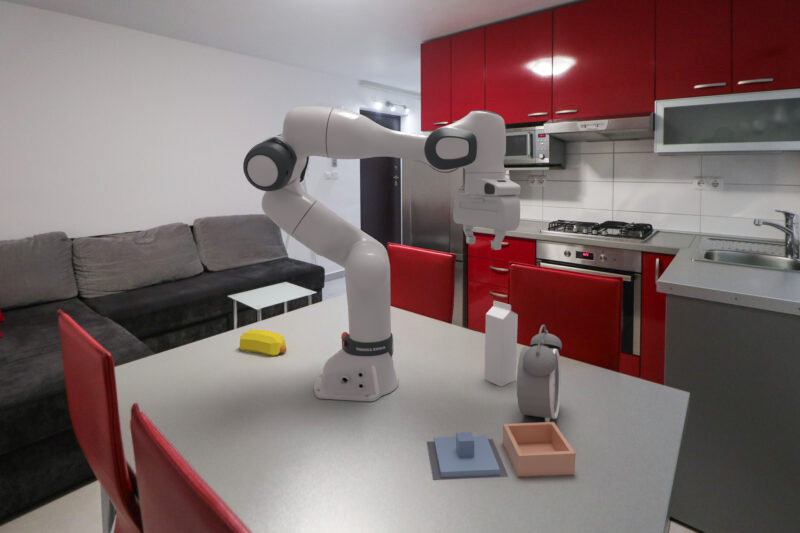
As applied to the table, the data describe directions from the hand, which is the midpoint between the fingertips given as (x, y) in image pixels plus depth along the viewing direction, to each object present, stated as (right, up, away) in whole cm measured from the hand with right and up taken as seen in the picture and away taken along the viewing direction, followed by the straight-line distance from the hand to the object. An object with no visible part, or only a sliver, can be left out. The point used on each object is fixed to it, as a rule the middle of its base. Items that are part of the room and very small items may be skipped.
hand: (482, 246), depth 104 cm
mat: (-6, -43, -15) cm, 46 cm away
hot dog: (-64, -33, +42) cm, 83 cm away
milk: (+8, -36, +19) cm, 41 cm away
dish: (+8, -43, -16) cm, 46 cm away
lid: (-6, -43, -15) cm, 46 cm away
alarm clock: (+13, -40, 0) cm, 42 cm away
